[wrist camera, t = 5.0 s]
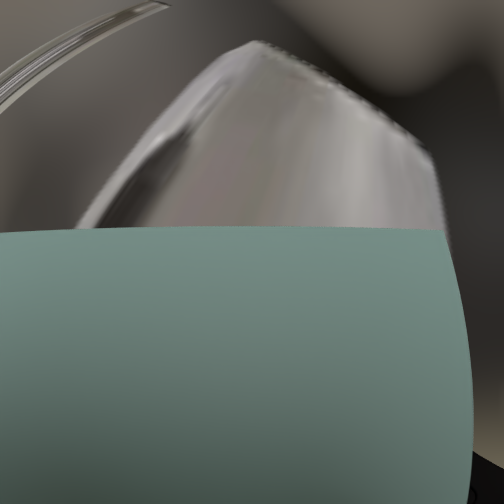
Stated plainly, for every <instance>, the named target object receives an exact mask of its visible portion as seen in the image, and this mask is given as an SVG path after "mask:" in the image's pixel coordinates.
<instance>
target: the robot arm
mask: <svg viewBox="0 0 504 504" xmlns="http://www.w3.org/2000/svg"><path fill="white" fill-rule="evenodd" d="M467 504H504V469H503V468H501V467H499V466H497V465H495V464H494V463H492V462H490V461H488V460H487V459H485V458H483V457H481V456H480V455H478V454H477V453H475V452H474V451H472V466H471V476H470V485H469V492H468V499H467Z"/></svg>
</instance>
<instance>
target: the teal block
mask: <svg viewBox="0 0 504 504" xmlns="http://www.w3.org/2000/svg"><path fill="white" fill-rule="evenodd" d="M472 451H473V391H472V375H471V363H470V355H469V346H468V338H467V331H466V325H465V319H464V314H463V308H462V302H461V297H460V293H459V289H458V283H457V280H456V275H455V271H454V267H453V263H452V259H451V255H450V252H449V248H448V245H447V241H446V238H445V235H444V231H443V230H421V229H392V228H355V227H294V226H199V227H138V228H102V229H73V230H50V231H30V232H10V233H0V504H467V499H468V492H469V485H470V476H471V466H472Z"/></svg>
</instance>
